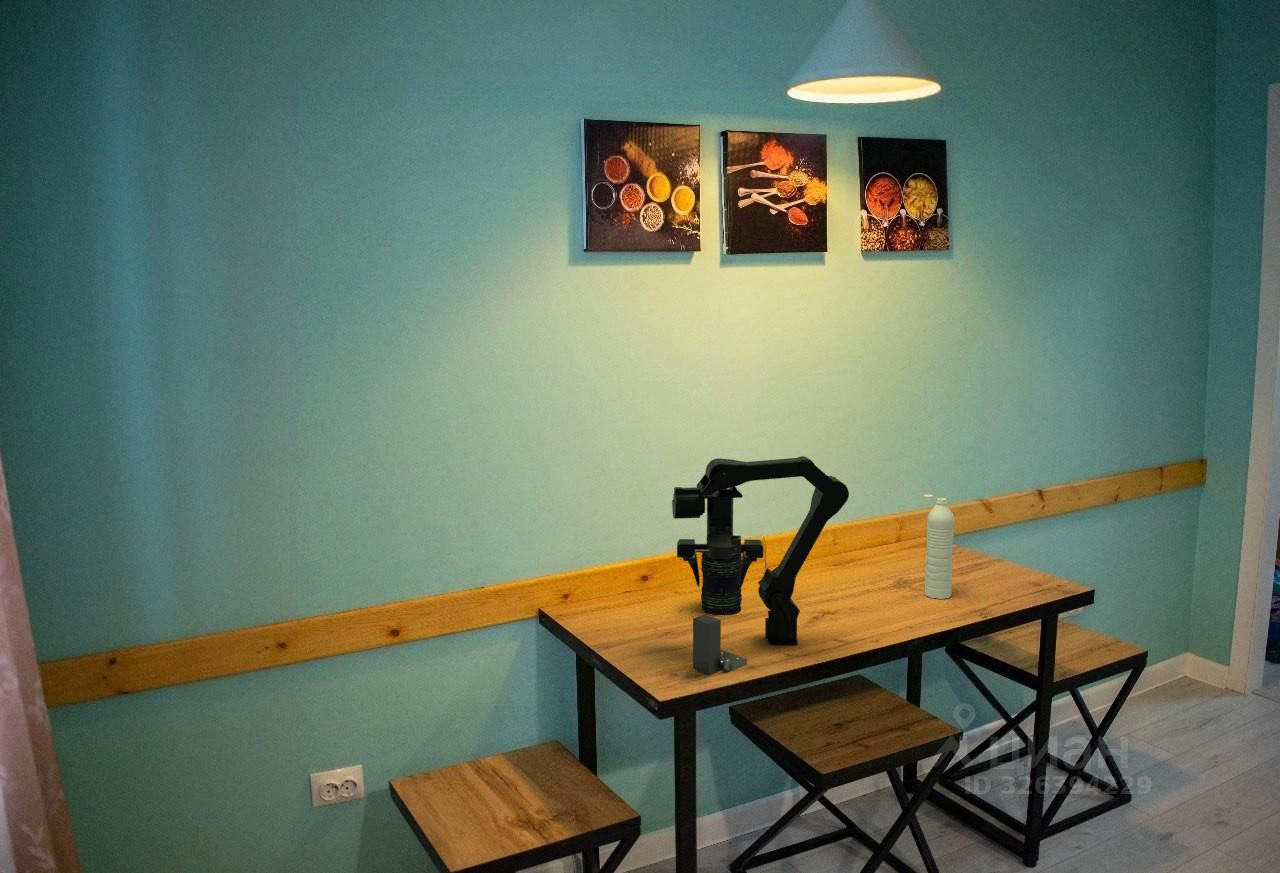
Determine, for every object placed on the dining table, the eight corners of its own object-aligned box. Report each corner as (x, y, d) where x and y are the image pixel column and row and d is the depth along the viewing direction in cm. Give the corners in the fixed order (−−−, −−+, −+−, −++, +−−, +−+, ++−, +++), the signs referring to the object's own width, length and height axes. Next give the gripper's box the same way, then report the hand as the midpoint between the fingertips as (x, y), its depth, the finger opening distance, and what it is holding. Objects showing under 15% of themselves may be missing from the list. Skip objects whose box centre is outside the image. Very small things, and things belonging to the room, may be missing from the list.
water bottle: (956, 596, 270) (961, 498, 266) (939, 601, 266) (943, 502, 262) (929, 587, 277) (933, 492, 273) (912, 592, 273) (915, 496, 269)
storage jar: (739, 617, 256) (739, 556, 253) (698, 614, 258) (698, 554, 255) (743, 604, 265) (744, 545, 263) (704, 601, 267) (704, 543, 265)
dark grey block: (704, 664, 226) (704, 614, 224) (720, 670, 223) (720, 619, 221) (693, 669, 224) (693, 618, 222) (709, 675, 220) (709, 623, 219)
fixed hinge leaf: (719, 654, 232) (719, 644, 231) (746, 664, 226) (746, 653, 226) (698, 663, 227) (698, 652, 227) (725, 672, 222) (725, 661, 221)
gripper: (676, 526, 227) (676, 597, 229) (765, 526, 226) (764, 598, 228) (677, 513, 238) (677, 581, 240) (762, 514, 237) (761, 582, 239)
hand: (719, 586), depth 237 cm, fingers open, 9 cm apart
